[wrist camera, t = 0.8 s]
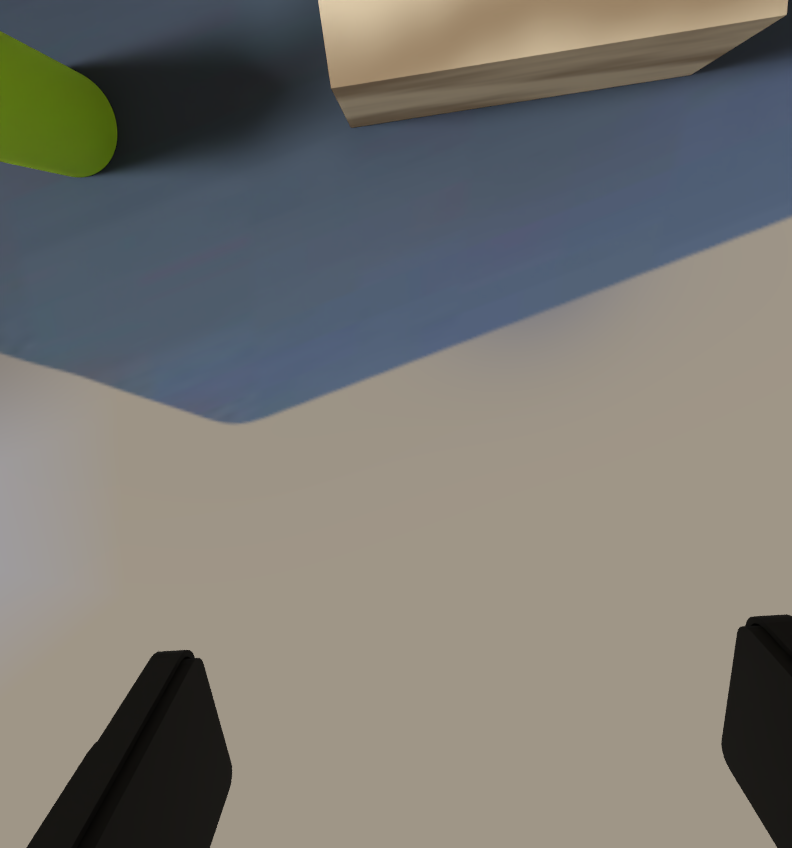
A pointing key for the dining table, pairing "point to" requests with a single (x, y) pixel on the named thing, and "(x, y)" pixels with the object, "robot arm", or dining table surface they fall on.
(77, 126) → the green soap pump bottle
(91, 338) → the dining table surface
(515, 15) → the socket block
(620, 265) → the dining table surface
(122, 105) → the dining table surface
